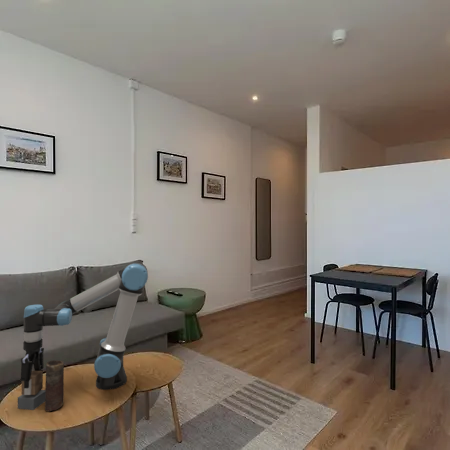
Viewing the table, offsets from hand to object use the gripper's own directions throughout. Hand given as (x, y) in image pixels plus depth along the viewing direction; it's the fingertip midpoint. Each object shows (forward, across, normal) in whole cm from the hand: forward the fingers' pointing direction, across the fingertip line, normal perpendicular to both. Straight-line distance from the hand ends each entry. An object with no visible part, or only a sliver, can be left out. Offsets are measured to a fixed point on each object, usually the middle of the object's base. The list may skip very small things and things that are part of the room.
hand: (32, 390), depth 147 cm
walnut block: (0, 0, 0) cm, 0 cm away
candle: (+6, +2, +12) cm, 13 cm away
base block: (+6, 0, 0) cm, 6 cm away
